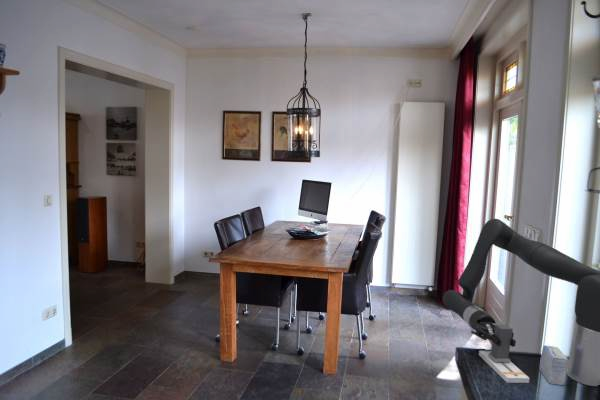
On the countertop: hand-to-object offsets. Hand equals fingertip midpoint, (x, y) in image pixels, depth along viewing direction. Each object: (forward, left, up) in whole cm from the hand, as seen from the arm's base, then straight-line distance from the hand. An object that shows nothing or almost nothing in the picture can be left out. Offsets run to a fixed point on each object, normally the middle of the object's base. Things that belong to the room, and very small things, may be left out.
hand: (507, 343), depth 130 cm
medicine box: (-13, +5, -9) cm, 16 cm away
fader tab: (0, -3, -7) cm, 7 cm away
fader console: (0, 0, -8) cm, 9 cm away
